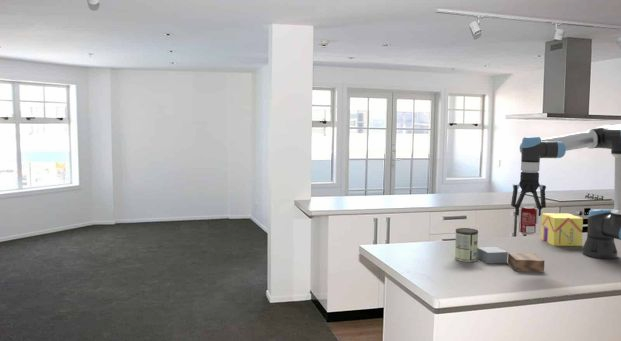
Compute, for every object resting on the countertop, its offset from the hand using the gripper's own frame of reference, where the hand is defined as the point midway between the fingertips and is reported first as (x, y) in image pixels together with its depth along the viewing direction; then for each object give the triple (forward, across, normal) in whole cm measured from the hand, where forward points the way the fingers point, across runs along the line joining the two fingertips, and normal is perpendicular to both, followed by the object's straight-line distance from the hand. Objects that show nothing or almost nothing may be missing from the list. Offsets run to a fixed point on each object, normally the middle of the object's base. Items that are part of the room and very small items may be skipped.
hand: (527, 222), depth 220 cm
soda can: (+5, 0, 0) cm, 5 cm away
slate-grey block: (+21, +12, -11) cm, 26 cm away
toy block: (+21, -35, -55) cm, 68 cm away
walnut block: (+21, 0, 0) cm, 21 cm away
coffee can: (+21, +24, -11) cm, 34 cm away
